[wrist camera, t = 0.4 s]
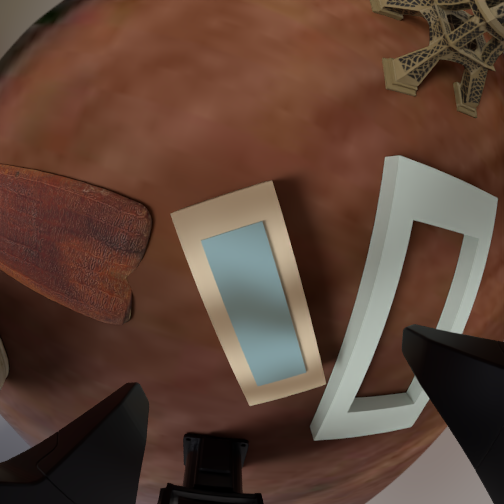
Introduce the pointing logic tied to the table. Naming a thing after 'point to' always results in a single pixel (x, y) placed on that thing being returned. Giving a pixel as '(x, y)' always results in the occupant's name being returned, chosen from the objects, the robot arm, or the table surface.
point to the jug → (3, 364)
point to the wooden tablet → (71, 241)
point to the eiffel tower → (448, 45)
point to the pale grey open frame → (384, 287)
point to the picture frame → (252, 291)
